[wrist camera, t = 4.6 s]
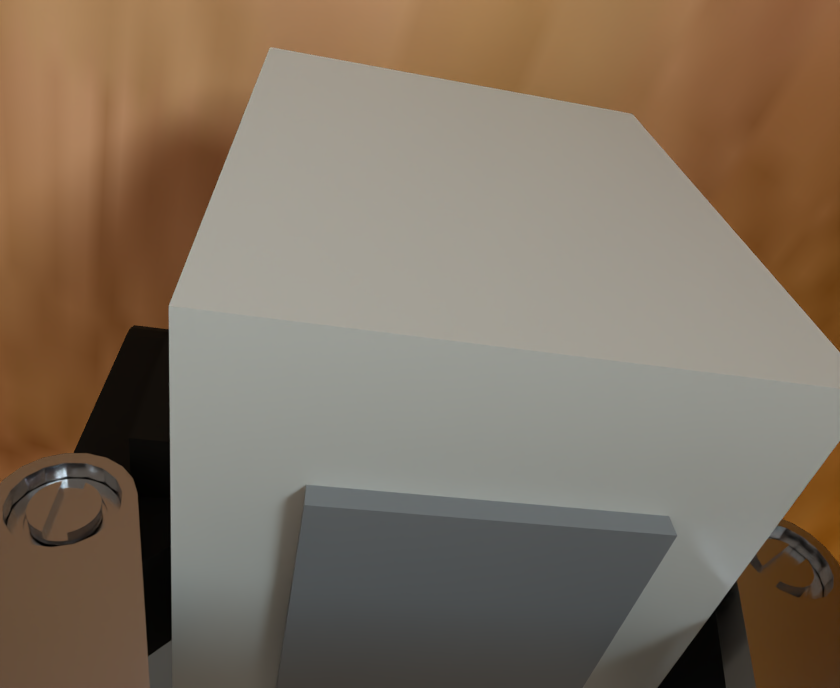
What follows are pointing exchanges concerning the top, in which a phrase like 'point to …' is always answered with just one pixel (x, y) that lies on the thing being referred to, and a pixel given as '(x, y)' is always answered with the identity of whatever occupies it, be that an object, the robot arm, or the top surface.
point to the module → (469, 395)
